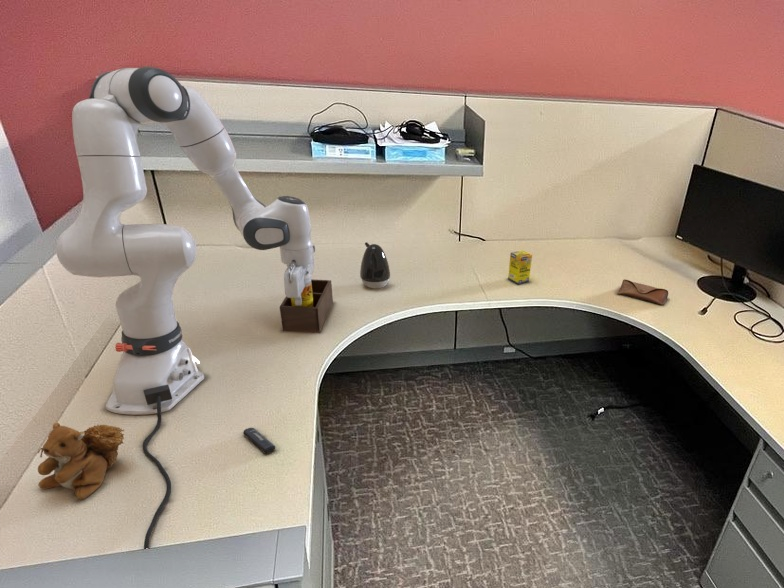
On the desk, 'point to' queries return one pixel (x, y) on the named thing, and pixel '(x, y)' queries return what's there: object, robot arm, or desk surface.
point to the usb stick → (259, 440)
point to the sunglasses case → (643, 292)
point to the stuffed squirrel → (79, 457)
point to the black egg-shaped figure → (374, 267)
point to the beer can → (306, 293)
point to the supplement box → (519, 267)
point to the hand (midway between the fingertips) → (302, 298)
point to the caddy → (308, 310)
